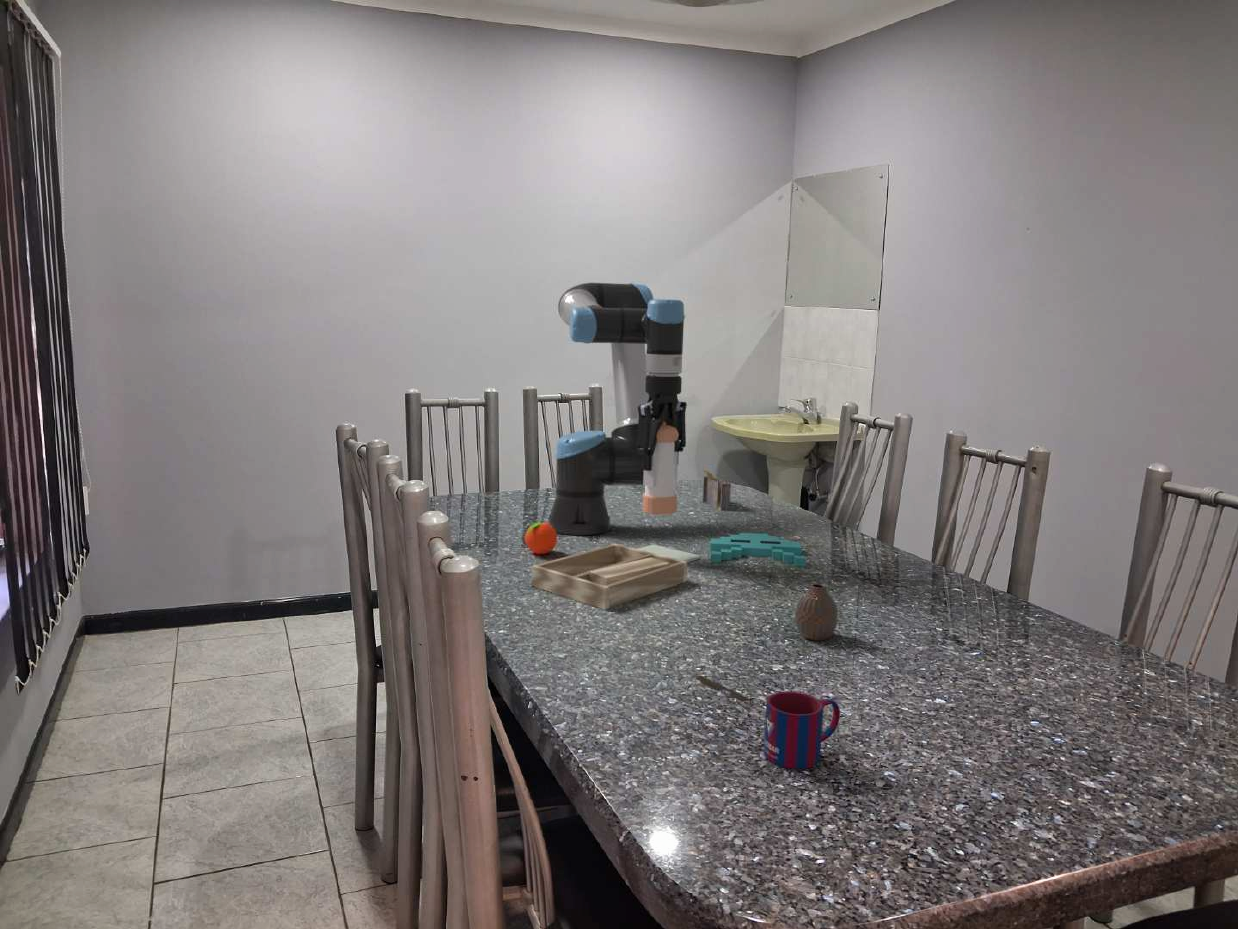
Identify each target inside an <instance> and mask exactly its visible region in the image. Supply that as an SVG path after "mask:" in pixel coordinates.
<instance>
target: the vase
mask: <svg viewBox="0 0 1238 929" xmlns="http://www.w3.org/2000/svg"><path fill="white" fill-rule="evenodd" d="M794 618H795V621H794V622H795V625H796V628H797V630H798V632H799V633H800V634H801V636H802V637H803V638H806V639H808V640H812V641H824V640H825V641H826V640H827V639H828V638H830V637H831V636H832V635H833V634H834V632H835V630H836V628H837V626H838V621H839V612H838V608H837V603H836V602H835V600H834V599H833V597H832V596H831V594H830V593H829V591H828V588H827V586H826V585H824V584H822V583H812V584H811V585H810V587H809V589H808V590H807V591H806V592H805V593H804V594H803V595H802V596H801V597H800V599H799V600H798V602H797V604H796V608H795V612H794Z"/></svg>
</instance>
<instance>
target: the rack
mask: <svg viewBox="0 0 1238 929" xmlns="http://www.w3.org/2000/svg"><path fill="white" fill-rule="evenodd" d="M638 549H639V548H634V547H630V546H626V545H621V544H617V543H612V544H609V545H605V546H600V547H596V548H594V549H590V550H586V551H584V552H583V551H582V552H579V553H576V554H572V555H571V554H570V555H568V556H563V557H560V558H556V559H553V560H549V561H546V562H541V563H539V564H535V565H531V567H530V568H531V570H530V571H531V573H530V575H531V577H530V578H531V582H530V583H531V585H532V586H534V587H533V588H535V587H537V588H536V589H538V588H539V589H538V590H541V589H544V590H547V591H549V592H548V593H551V592H552V593H551V594H554V593H555V594H554V595H557V596H560V595H562V596H561V597H563V596H565V597H564V598H566V597H567V599H570V600H573V601H576V602H579V601H580V602H579V603H582V602H583V604H585V603H586V604H585V605H589V606H591V607H595V608H598V607H599V608H598V609H601V610H604V611H605V610H608V609H612V608H614V607H617V606H620V605H624V604H627V603H628V602H631V601H634V600H637V599H640V598H643V597H646V596H649V595H651V594H655V593H658V592H660V591H663V590H666V589H668V588H671V587H675V586H677V585H679V584H680V585H681V584H683V583H686V582H687V573H688V570H687V569H688V562H686V561H682V560H678V559H674V558H670V557H666V556H662V555H658V554H654V553H650V552H646V551H642V550H638ZM646 558H655V559H658V560H661V561H664V562H667V563H669V565H668V566H665V567H662V568H659V569H656V570H653V571H650V572H646V573H643V574H640V575H637V576H634V577H631V578H628V579H625V580H621V581H618V582H615V583H612V584H609V585H606V586H604V585H601V584H598V583H594V582H591V581H589V572H590V570H592V571H594V570H598V569H603V568H607V567H612V566H616V565H620V564H625V563H629V562H633V561H638V560H642V559H646ZM612 564H613V565H612ZM605 566H606V567H605ZM587 571H589V572H587ZM584 572H585V573H584ZM581 573H582V574H581ZM578 574H579V575H578ZM532 586H531V587H532ZM662 589H663V590H662ZM544 590H543V591H544ZM547 591H546V592H547Z"/></svg>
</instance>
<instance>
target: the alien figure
mask: <svg viewBox="0 0 1238 929" xmlns="http://www.w3.org/2000/svg"><path fill="white" fill-rule="evenodd" d="M802 548H803V547H802V544H801V542H798V541H797V542H796V541H795V542H794V541H792V542H791V540H790V539H783V538H782V539H781V538H780V537H779V536H769V534H768V533H756V532H755V533H753V532H750V533H749V532H739V534H729V536H720V538H710V563H722V561H732V559H734V558H735V559H736V558H737V559H741V558H742V556H749V557H750V556H751V557H768V558H771V560H772V559H777V560H776V561H782V562H783V564H793V565H794V564H795V565H794V567H798V566H805V567H806V566H807V557H806V556H805V555H802V552H803V551H802V550H803V549H802ZM799 555H801V556H799ZM805 567H804V568H805Z"/></svg>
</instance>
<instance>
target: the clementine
mask: <svg viewBox="0 0 1238 929" xmlns="http://www.w3.org/2000/svg"><path fill="white" fill-rule="evenodd" d="M524 540H525V544H526V547H527V548H528V549H529V550H530V551H531V552H532V553H535V554H537V555H545V554H548V553H549V552H552V551H553V550H554V548H555V547H556V544H557V542H558V533H557V532H556V531H555V529H554V528H553V527H552V526H551V525H550V524H548V522H543V521H539V522H534V523H533V524H532V525H530V526H529V527H528V529H527V530H526V533H525V536H524Z"/></svg>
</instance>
